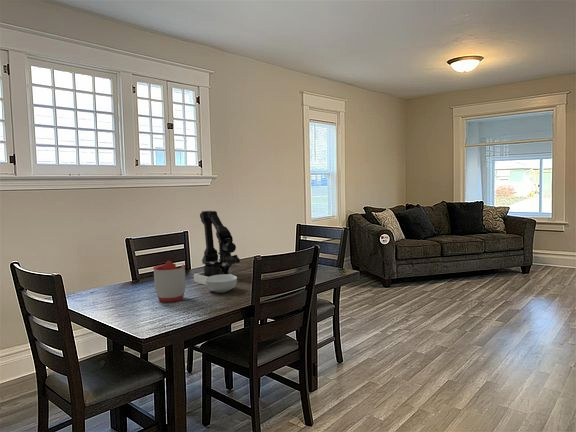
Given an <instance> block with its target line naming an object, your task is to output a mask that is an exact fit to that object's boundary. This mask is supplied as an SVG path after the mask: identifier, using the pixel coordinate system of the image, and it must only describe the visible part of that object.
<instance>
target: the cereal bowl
mask: <svg viewBox="0 0 576 432" xmlns="http://www.w3.org/2000/svg"><path fill="white" fill-rule="evenodd" d="M228 274H229V273H227V274H222V275H214V276H210V277H207V278H206V279H205V283H206V285H205V286H206V288H207V289H209V290H210V291H211V292H214V293H218V294H219V293H222V294H223V293H228V292H229V291H230V290H232V289H234V288H235V287H236V285H237V283H238V277H237V276H236V275H234V274H232V275H228Z"/></svg>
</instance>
